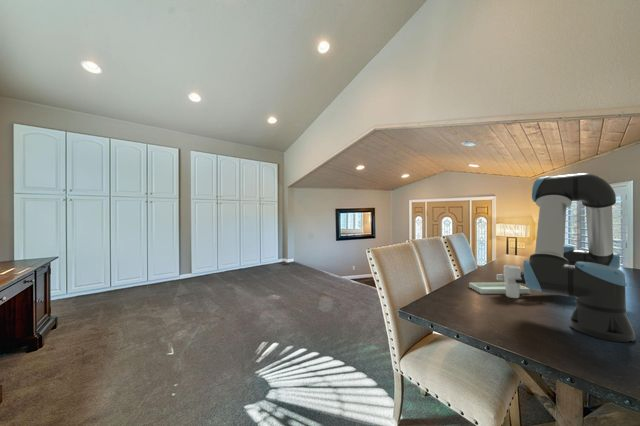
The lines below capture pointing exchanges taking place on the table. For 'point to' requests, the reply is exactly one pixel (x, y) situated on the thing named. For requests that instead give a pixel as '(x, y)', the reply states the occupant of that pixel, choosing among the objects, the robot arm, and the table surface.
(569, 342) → the table surface
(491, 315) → the table surface
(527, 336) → the table surface
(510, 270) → the drinking glass
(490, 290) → the tray
